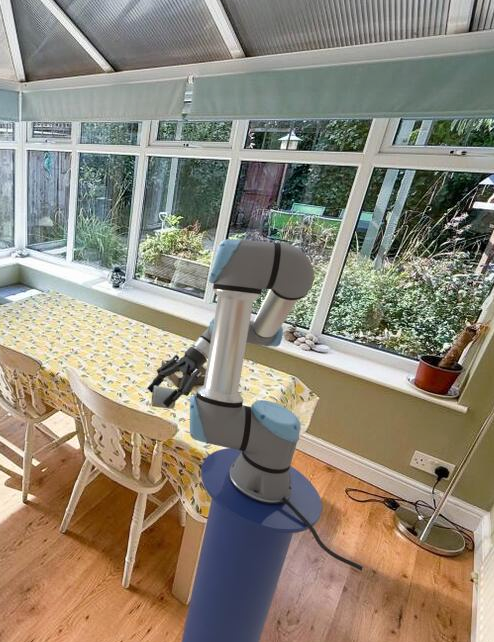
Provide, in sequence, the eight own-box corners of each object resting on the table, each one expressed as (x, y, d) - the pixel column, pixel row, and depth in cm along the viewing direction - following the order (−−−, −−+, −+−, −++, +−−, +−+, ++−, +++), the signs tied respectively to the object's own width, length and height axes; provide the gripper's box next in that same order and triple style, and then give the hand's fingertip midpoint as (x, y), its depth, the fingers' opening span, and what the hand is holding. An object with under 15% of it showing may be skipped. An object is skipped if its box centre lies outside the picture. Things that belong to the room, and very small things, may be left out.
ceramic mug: (174, 413, 147) (177, 395, 144) (151, 410, 148) (153, 392, 145) (172, 397, 156) (175, 379, 153) (150, 394, 158) (153, 377, 155)
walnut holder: (213, 385, 169) (215, 375, 167) (176, 388, 166) (178, 377, 164) (194, 367, 184) (195, 358, 182) (160, 369, 181) (162, 360, 179)
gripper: (225, 372, 141) (180, 419, 141) (185, 346, 160) (146, 388, 160) (215, 360, 137) (169, 408, 137) (175, 335, 157) (135, 377, 157)
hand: (157, 397), depth 149 cm, fingers closed on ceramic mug, 10 cm apart
